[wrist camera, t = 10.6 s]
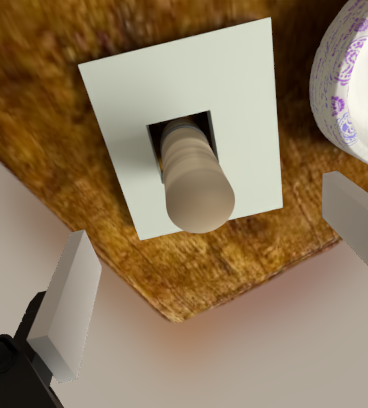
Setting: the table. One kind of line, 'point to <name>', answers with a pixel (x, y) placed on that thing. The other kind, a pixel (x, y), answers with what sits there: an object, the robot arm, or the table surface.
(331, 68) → the paper bowls
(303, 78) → the table surface
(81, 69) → the socket board
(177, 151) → the maple dowel
